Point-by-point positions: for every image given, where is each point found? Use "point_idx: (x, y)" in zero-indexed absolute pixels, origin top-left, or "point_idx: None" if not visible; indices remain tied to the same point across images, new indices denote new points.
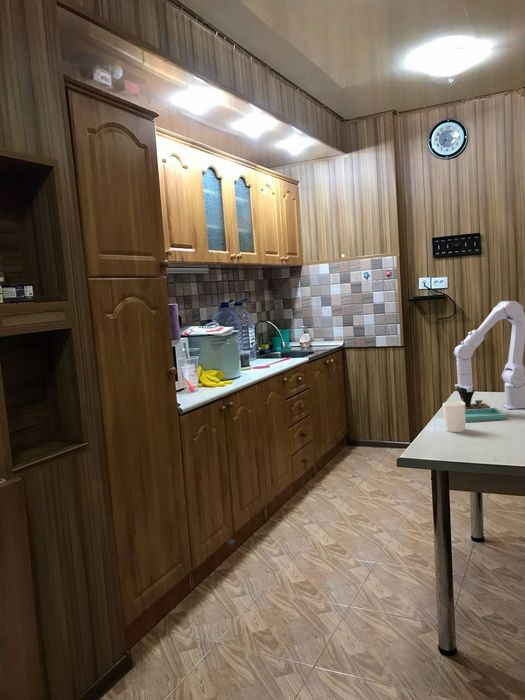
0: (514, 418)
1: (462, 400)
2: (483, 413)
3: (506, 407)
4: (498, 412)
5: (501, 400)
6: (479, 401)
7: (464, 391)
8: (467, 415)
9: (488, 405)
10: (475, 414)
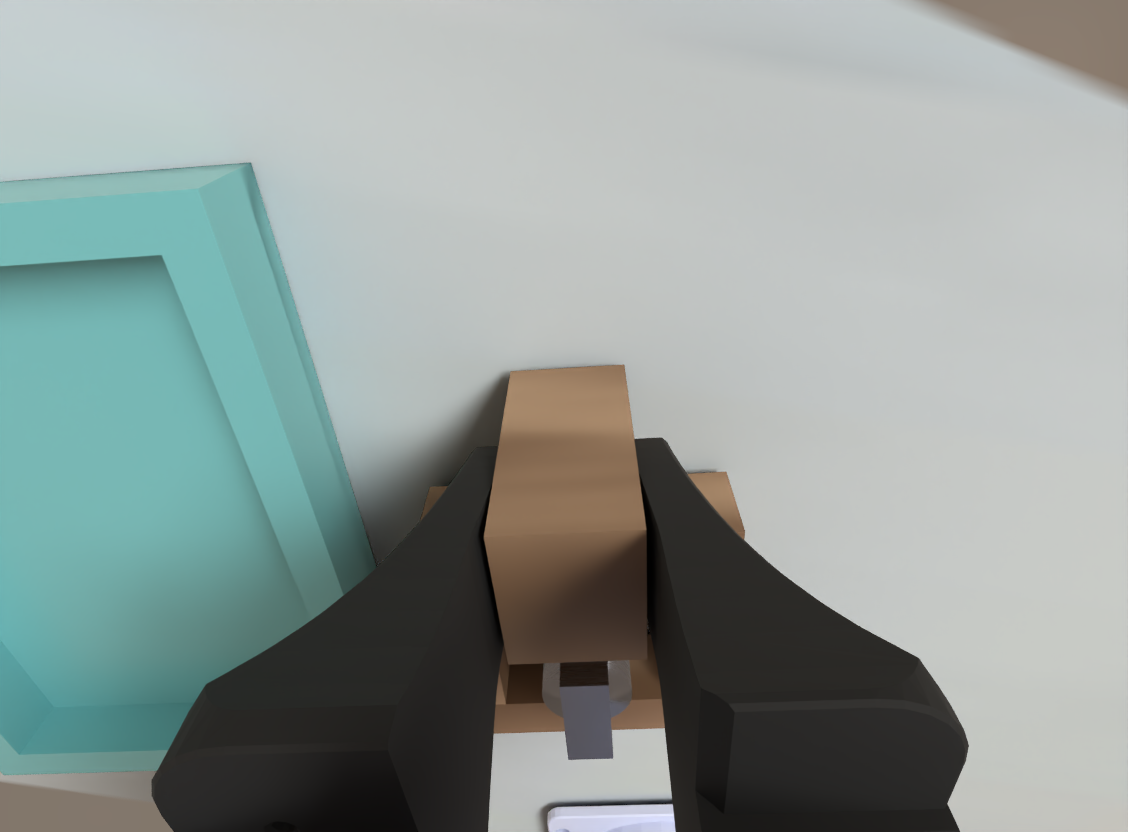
0: (122, 773)
1: (558, 506)
2: (289, 595)
3: (609, 811)
4: (154, 740)
5: (1041, 828)
6: (564, 717)
7: (188, 820)
8: (123, 379)
9: (544, 731)
10: (215, 498)
